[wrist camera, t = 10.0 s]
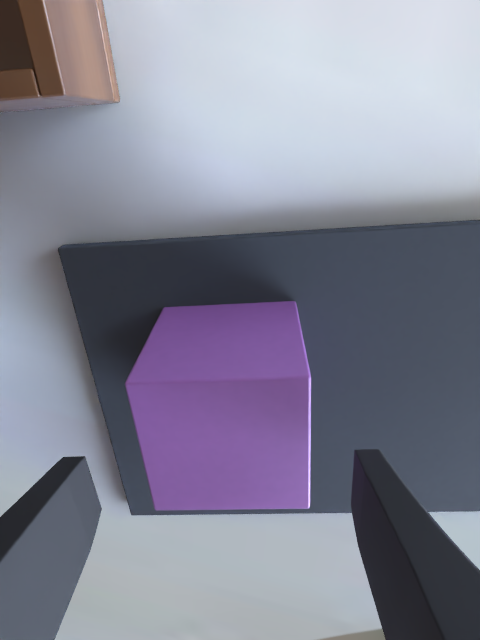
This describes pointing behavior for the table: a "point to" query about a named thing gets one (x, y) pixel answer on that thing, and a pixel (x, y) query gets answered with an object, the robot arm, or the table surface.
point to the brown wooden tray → (54, 55)
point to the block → (224, 408)
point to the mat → (314, 343)
